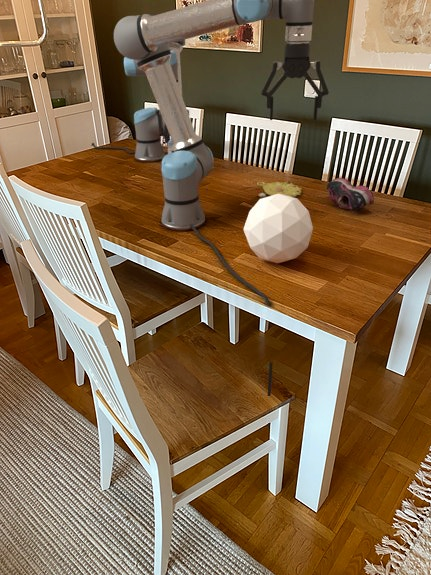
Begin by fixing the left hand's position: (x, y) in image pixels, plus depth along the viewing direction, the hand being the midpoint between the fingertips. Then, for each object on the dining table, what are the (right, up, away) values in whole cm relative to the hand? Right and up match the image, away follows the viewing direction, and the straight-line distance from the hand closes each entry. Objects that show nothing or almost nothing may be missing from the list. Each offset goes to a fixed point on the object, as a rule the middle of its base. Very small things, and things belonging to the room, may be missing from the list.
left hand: (174, 150), depth 194 cm
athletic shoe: (+66, -30, -30) cm, 78 cm away
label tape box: (0, -3, +2) cm, 4 cm away
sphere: (+36, -51, -62) cm, 89 cm away
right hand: (+43, -7, -55) cm, 70 cm away
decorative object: (+44, -21, -15) cm, 51 cm away
